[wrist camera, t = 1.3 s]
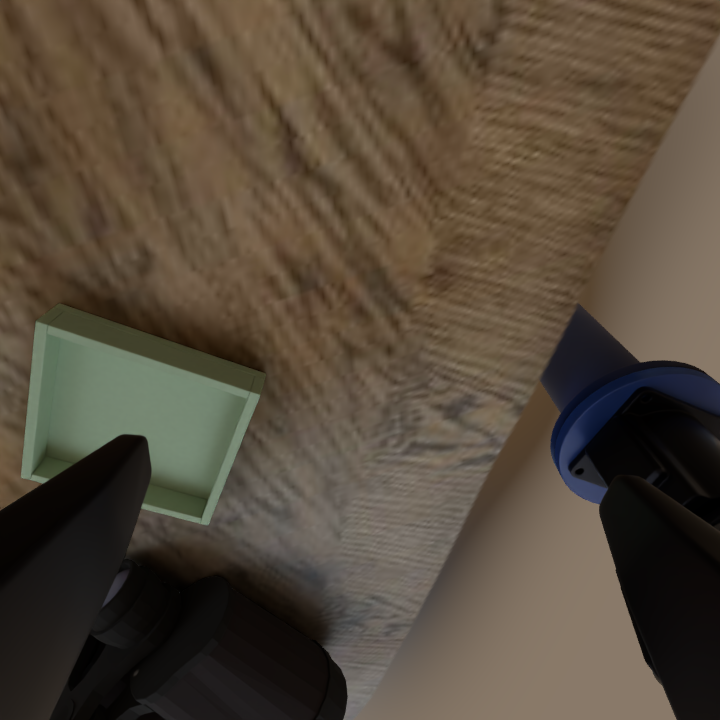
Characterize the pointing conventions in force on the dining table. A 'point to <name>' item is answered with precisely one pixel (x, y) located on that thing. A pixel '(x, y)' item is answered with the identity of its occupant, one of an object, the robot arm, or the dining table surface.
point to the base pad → (136, 407)
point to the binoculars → (196, 659)
